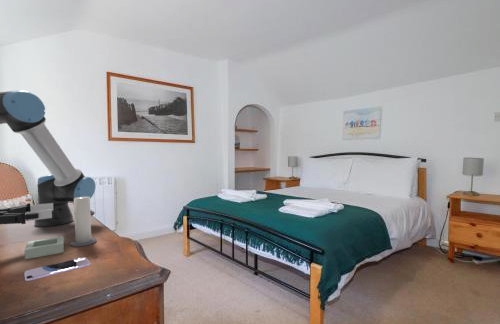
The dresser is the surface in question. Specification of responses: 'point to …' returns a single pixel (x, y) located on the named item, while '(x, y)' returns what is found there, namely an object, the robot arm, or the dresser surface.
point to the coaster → (83, 243)
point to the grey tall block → (82, 219)
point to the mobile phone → (56, 268)
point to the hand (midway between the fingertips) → (52, 209)
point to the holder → (44, 247)
